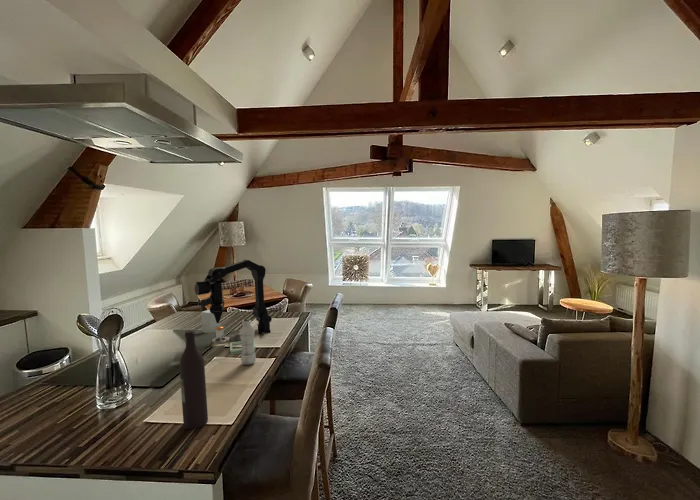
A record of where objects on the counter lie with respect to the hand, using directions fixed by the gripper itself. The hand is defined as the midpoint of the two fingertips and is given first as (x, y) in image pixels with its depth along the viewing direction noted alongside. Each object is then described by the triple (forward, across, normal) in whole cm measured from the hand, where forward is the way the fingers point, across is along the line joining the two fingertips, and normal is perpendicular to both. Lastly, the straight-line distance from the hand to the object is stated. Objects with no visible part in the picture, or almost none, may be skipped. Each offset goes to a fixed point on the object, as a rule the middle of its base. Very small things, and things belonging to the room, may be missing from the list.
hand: (218, 320), depth 181 cm
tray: (+13, +14, +12) cm, 22 cm away
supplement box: (+13, -26, -6) cm, 30 cm away
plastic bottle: (+13, +34, +14) cm, 39 cm away
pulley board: (+13, +1, +5) cm, 14 cm away
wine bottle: (+13, +77, -3) cm, 78 cm away
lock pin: (+11, +1, 0) cm, 11 cm away
